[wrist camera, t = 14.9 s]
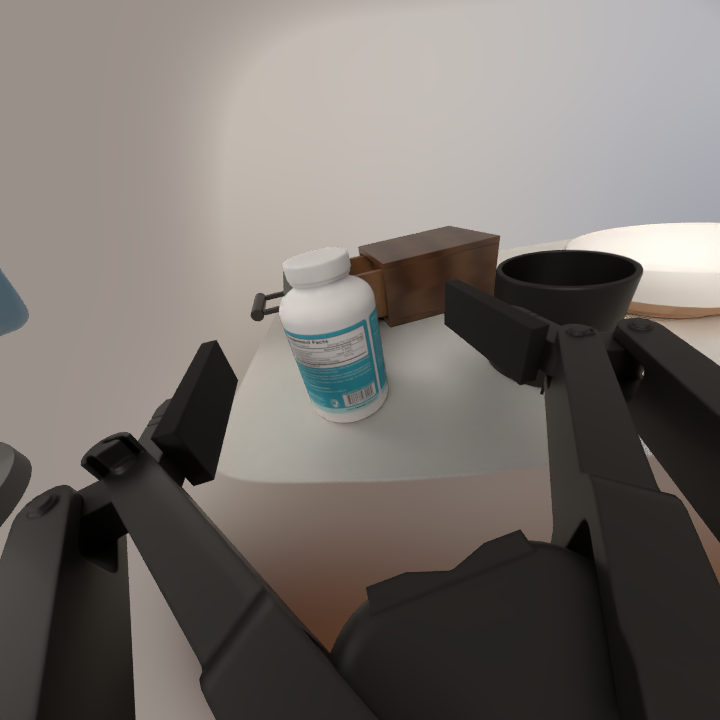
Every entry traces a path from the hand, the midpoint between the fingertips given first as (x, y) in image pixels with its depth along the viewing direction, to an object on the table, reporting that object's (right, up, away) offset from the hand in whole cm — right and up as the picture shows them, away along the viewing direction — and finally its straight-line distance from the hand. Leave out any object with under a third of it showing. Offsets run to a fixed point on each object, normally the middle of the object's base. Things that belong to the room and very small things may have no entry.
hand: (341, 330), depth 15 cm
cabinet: (+11, +8, +27) cm, 31 cm away
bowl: (+36, +6, +17) cm, 40 cm away
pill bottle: (0, -6, +11) cm, 12 cm away
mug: (+20, -1, +11) cm, 23 cm away
